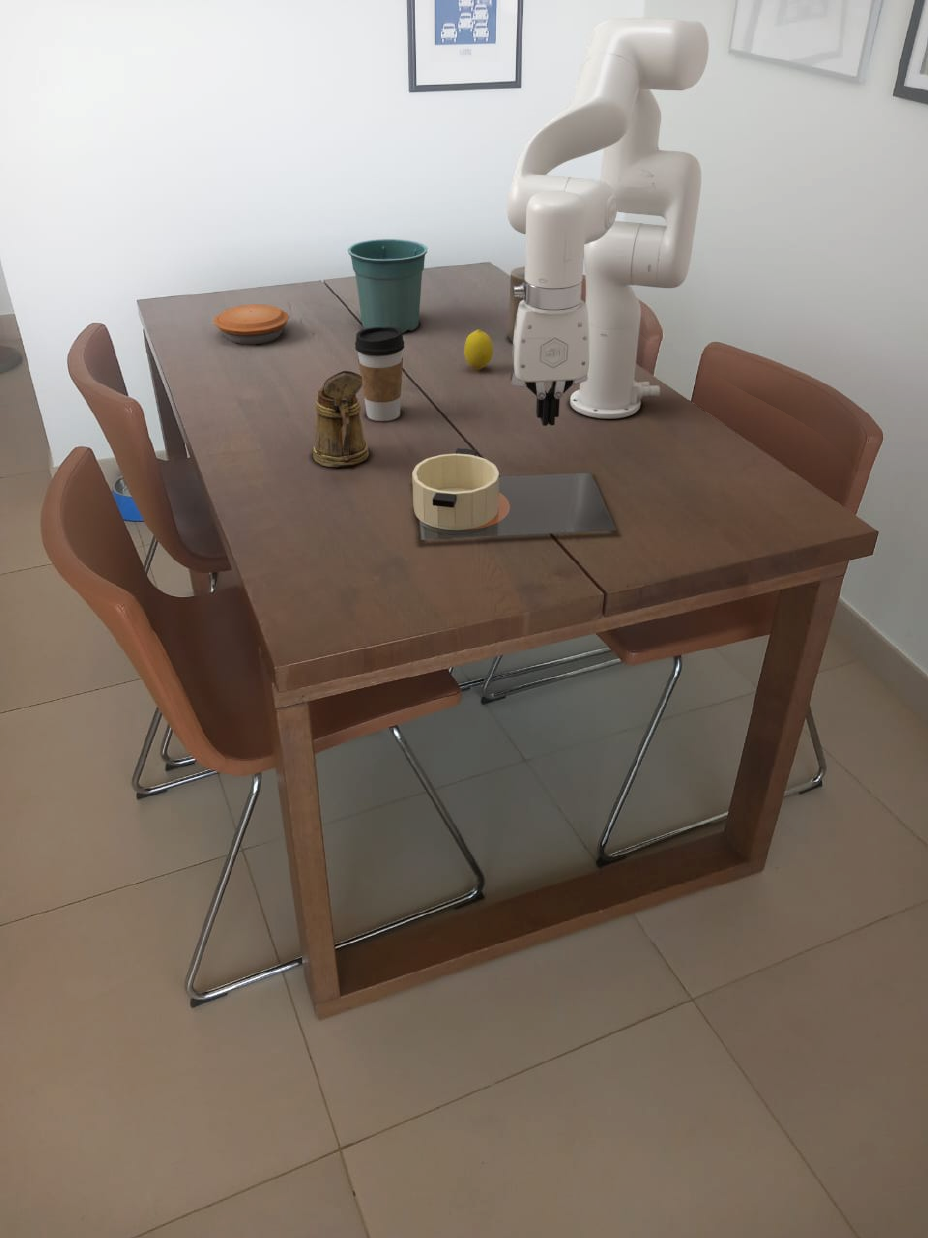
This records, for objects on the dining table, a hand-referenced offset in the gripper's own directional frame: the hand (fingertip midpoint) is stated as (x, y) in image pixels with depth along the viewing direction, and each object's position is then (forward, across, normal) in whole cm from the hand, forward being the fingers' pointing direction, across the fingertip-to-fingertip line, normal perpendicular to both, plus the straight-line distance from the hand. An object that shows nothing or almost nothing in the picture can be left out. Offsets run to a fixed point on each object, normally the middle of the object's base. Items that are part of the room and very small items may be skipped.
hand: (547, 421), depth 142 cm
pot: (+13, -13, -2) cm, 19 cm away
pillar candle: (+16, +9, +70) cm, 72 cm away
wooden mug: (+14, -30, +17) cm, 37 cm away
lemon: (+15, -4, +54) cm, 56 cm away
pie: (+15, -49, +78) cm, 94 cm away
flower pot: (+15, -20, +81) cm, 85 cm away
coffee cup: (+14, -23, +35) cm, 45 cm away
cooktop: (+14, -5, -1) cm, 15 cm away
